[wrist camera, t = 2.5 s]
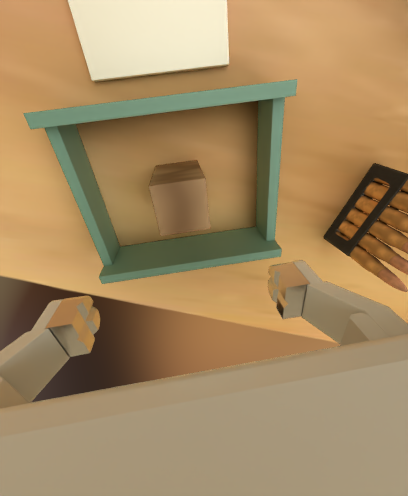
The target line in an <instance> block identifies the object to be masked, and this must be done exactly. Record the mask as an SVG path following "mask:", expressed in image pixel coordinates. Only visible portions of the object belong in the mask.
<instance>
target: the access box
mask: <svg viewBox="0 0 408 496" xmlns="http://www.w3.org/2000/svg"><path fill="white" fill-rule="evenodd" d="M296 87H297V79H296V80H288V81H280V82H272V83H264V84H256V85H248V86H240V87H232V88H224V89H216V90H207V91H199V92H191V93H183V94H175V95H167V96H159V97H151V98H143V99H135V100H127V101H119V102H111V103H103V104H95V105H87V106H79V107H71V108H63V109H55V110H47V111H39V112H31V113H23V114H24V116H25V118H26V120H27V123H28V125H29V127H30V129H37V128H45V131H46V133H47V135H48V138H49V140H50V142H51V144H52V147H53V149H54V151H55V154H56V156H57V158H58V161H59V163H60V165H61V168H62V170H63V172H64V175H65V177H66V179H67V182H68V184H69V186H70V188H71V191H72V193H73V195H74V198H75V200H76V202H77V205H78V207H79V209H80V212H81V214H82V216H83V219H84V221H85V223H86V225H87V228H88V230H89V232H90V235H91V237H92V239H93V242H94V244H95V246H96V249H97V251H98V253H99V256H100V258H101V260H102V263H103V265H104V267H103V269H102V271H101V273H100V276H99V278H100V280H101V283H102V284H105V283H112V282H118V281H125V280H131V279H138V278H144V277H151V276H157V275H164V274H170V273H177V272H183V271H190V270H196V269H203V268H209V267H216V266H222V265H229V264H235V263H242V262H248V261H255V260H261V259H268V258H274V257H280V256H281V250H282V249H281V248H280V246H279V245H278V244H277V242H276V241H275V229H276V215H277V201H278V187H279V172H280V158H281V144H282V130H283V116H284V102H285V97H289V96H296ZM253 101H258V138H257V194H256V227H250V228H243V229H236V230H229V231H223V232H216V233H209V234H202V235H196V236H189V237H182V238H175V239H169V240H162V241H155V242H149V243H142V244H135V245H128V246H122V247H120V245H119V242H118V239H117V237H116V234H115V231H114V228H113V226H112V223H111V220H110V217H109V215H108V212H107V209H106V206H105V204H104V201H103V198H102V195H101V193H100V190H99V187H98V184H97V182H96V179H95V176H94V173H93V171H92V168H91V165H90V162H89V160H88V157H87V154H86V151H85V149H84V146H83V143H82V140H81V138H80V135H79V132H78V129H77V127H76V124H80V123H88V122H96V121H104V120H111V119H119V118H127V117H135V116H143V115H151V114H159V113H166V112H174V111H182V110H190V109H198V108H206V107H214V106H221V105H229V104H237V103H245V102H253Z"/></svg>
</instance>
